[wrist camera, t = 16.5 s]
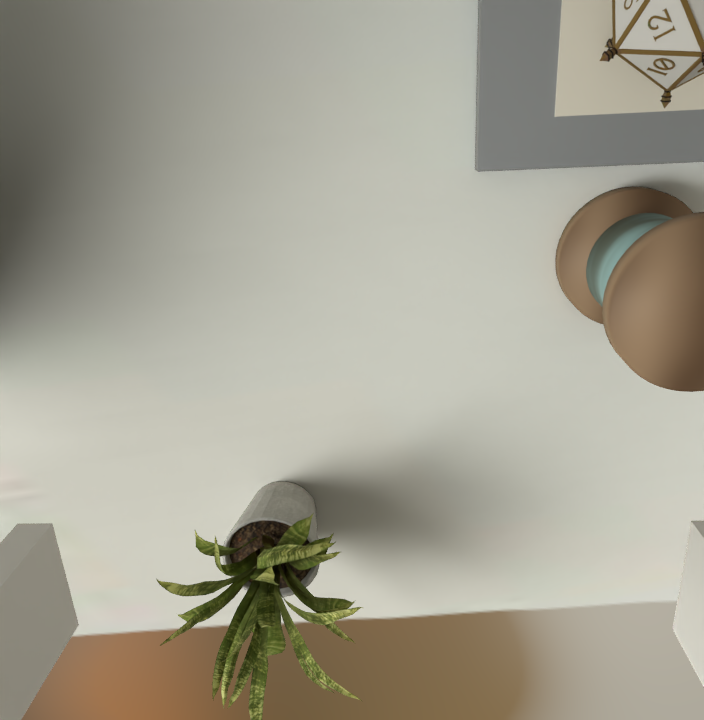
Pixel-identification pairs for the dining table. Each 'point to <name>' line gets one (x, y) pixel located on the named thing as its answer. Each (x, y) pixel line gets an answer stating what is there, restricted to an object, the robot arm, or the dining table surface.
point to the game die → (659, 40)
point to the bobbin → (640, 281)
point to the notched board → (572, 93)
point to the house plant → (267, 589)
